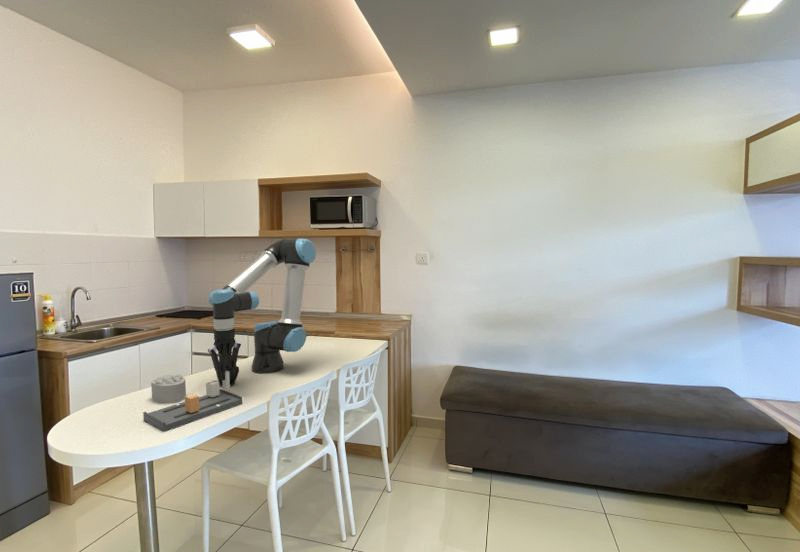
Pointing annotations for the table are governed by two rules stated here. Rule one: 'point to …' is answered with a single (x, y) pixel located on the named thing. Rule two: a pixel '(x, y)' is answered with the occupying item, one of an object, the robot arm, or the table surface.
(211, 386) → the fader
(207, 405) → the console
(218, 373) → the mug
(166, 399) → the lumpy-topped squat cylinder
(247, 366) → the table surface
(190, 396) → the fader
